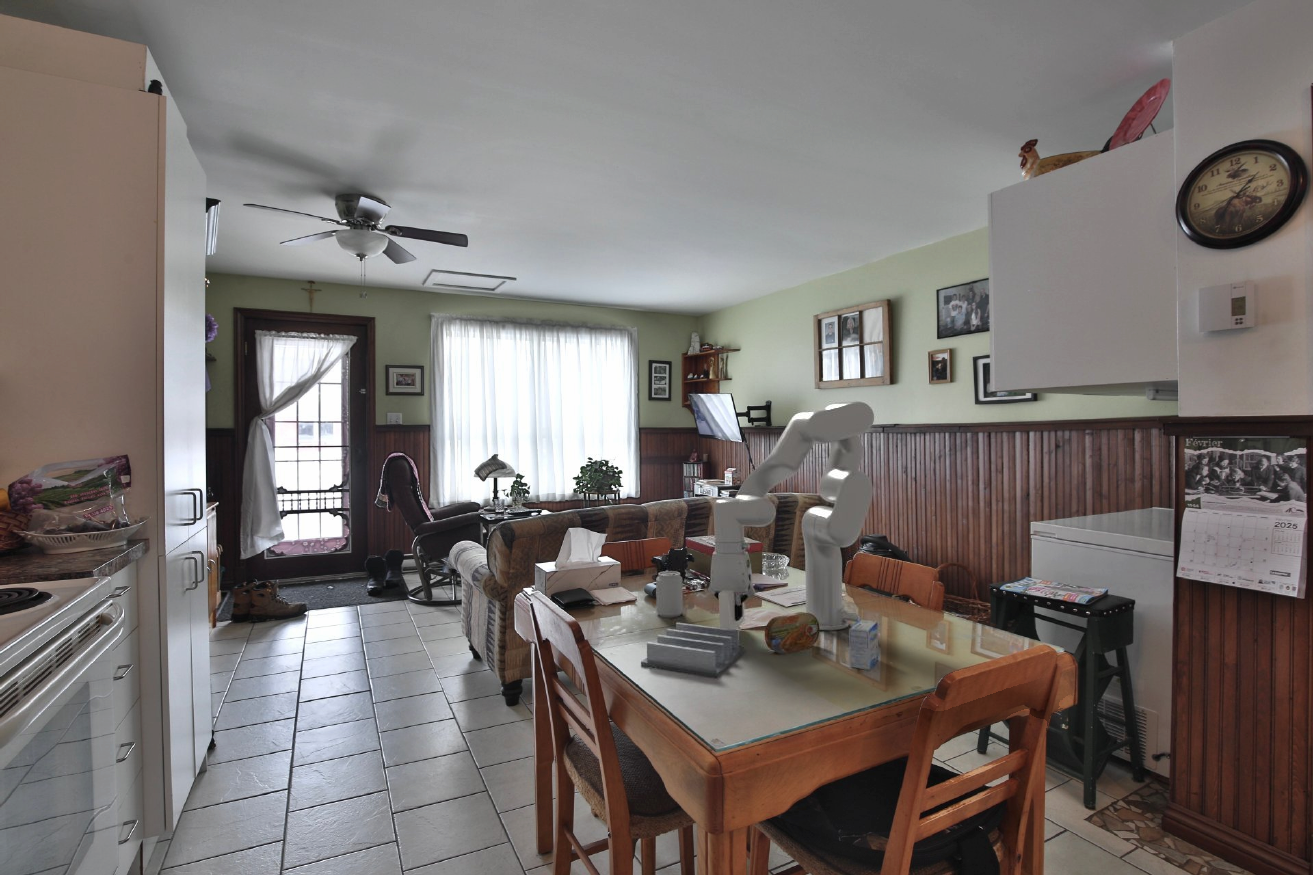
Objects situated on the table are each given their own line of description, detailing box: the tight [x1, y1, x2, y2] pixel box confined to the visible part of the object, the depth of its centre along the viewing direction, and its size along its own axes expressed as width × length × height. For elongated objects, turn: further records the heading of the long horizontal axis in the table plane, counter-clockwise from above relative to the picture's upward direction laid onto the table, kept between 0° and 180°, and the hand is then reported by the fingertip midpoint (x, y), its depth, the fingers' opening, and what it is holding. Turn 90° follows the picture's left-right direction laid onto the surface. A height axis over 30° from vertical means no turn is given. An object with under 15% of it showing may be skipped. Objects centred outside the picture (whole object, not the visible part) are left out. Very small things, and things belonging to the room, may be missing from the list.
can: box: [655, 570, 684, 619], centre depth 186 cm, size 8×8×12 cm
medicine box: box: [848, 619, 879, 671], centre depth 145 cm, size 8×4×9 cm, turn 148°
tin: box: [764, 611, 821, 655], centre depth 155 cm, size 15×3×8 cm, turn 117°
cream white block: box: [718, 590, 746, 630], centre depth 166 cm, size 2×12×10 cm, turn 154°
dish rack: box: [640, 621, 746, 680], centre depth 150 cm, size 18×19×5 cm
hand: (732, 618), depth 166 cm, fingers closed on cream white block, 2 cm apart
